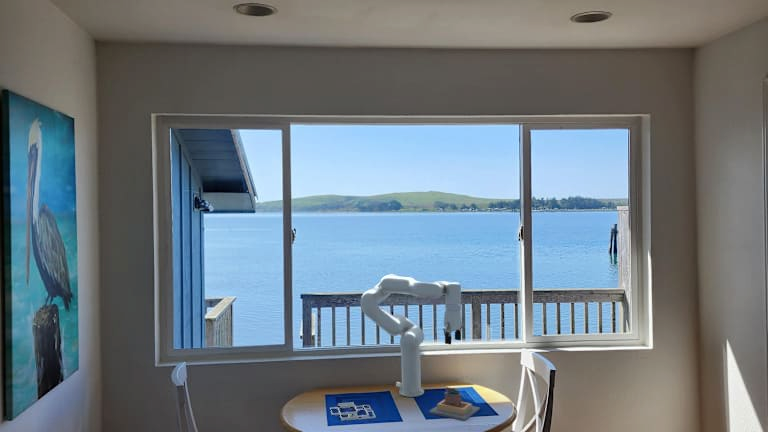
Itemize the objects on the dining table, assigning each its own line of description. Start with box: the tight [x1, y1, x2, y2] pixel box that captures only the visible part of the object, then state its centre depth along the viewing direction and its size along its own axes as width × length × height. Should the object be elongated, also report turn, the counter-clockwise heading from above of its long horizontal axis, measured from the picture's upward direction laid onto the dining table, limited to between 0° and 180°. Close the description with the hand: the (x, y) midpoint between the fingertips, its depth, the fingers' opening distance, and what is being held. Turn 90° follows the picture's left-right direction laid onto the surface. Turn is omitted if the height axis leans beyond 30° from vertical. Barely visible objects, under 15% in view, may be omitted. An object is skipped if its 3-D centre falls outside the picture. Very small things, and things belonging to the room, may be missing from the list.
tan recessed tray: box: [428, 398, 481, 422], centre depth 269 cm, size 18×16×4 cm
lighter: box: [443, 386, 462, 408], centre depth 269 cm, size 8×3×10 cm, turn 63°
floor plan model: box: [329, 401, 377, 422], centre depth 270 cm, size 19×25×2 cm
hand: (453, 341), depth 288 cm, fingers open, 9 cm apart
